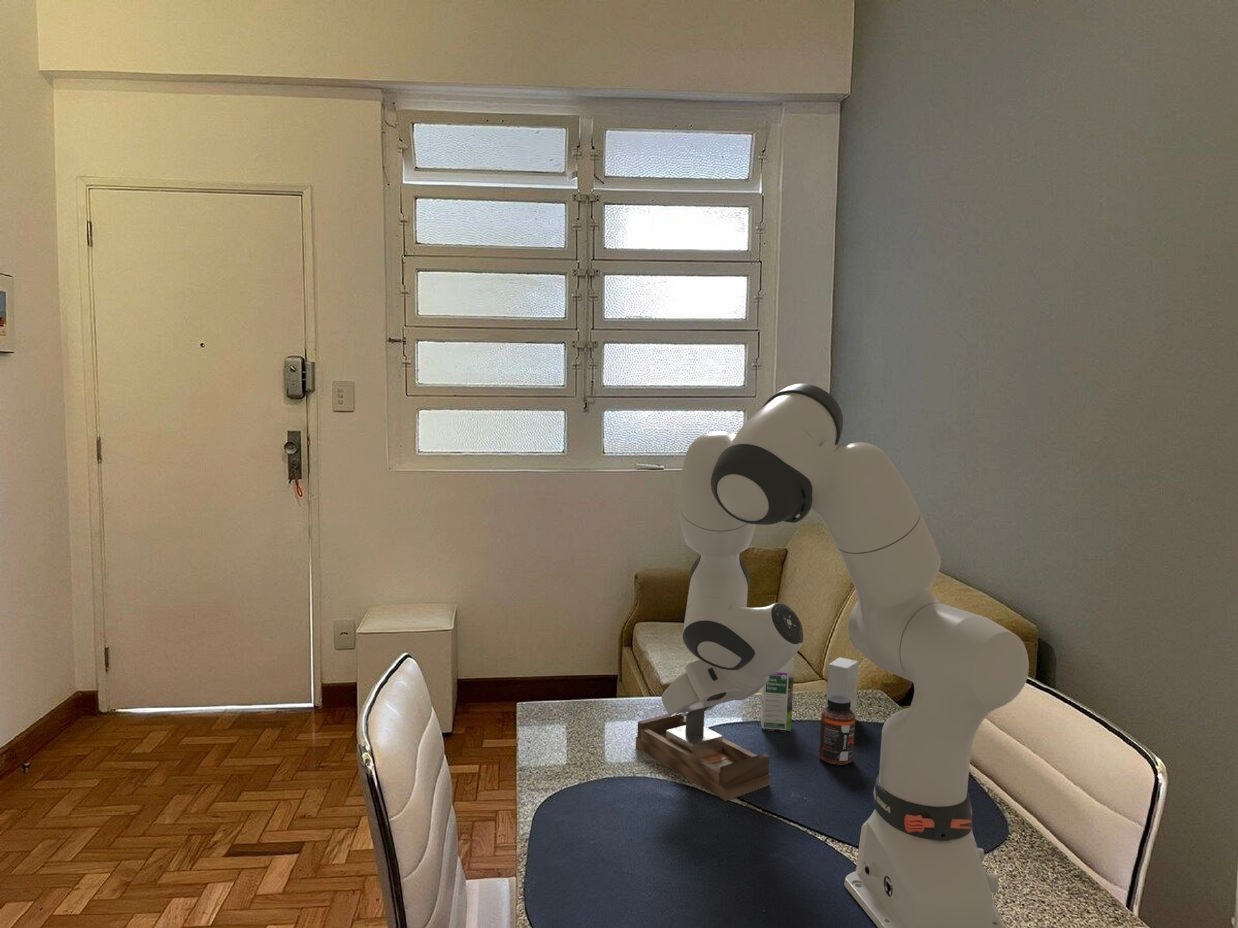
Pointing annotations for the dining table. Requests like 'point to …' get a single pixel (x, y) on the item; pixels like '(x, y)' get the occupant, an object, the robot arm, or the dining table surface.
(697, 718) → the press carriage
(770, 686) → the syrup box
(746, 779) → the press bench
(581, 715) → the dining table surface
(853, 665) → the skincare box
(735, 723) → the dining table surface
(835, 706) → the supplement bottle
